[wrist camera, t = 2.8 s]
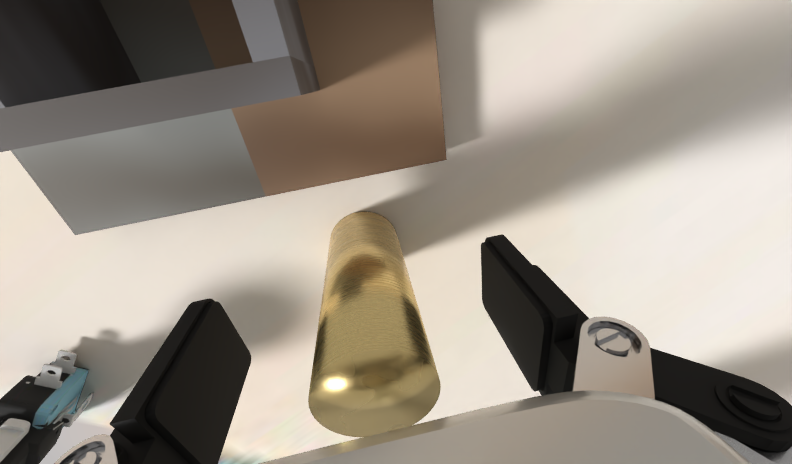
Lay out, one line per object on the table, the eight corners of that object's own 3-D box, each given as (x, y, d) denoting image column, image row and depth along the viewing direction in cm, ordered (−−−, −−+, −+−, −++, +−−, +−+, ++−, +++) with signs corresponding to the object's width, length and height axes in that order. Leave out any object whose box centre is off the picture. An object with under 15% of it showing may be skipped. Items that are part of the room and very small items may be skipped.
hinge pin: (401, 262, 17) (445, 420, 9) (339, 276, 17) (329, 448, 9) (390, 205, 15) (432, 336, 7) (322, 219, 15) (289, 368, 7)
